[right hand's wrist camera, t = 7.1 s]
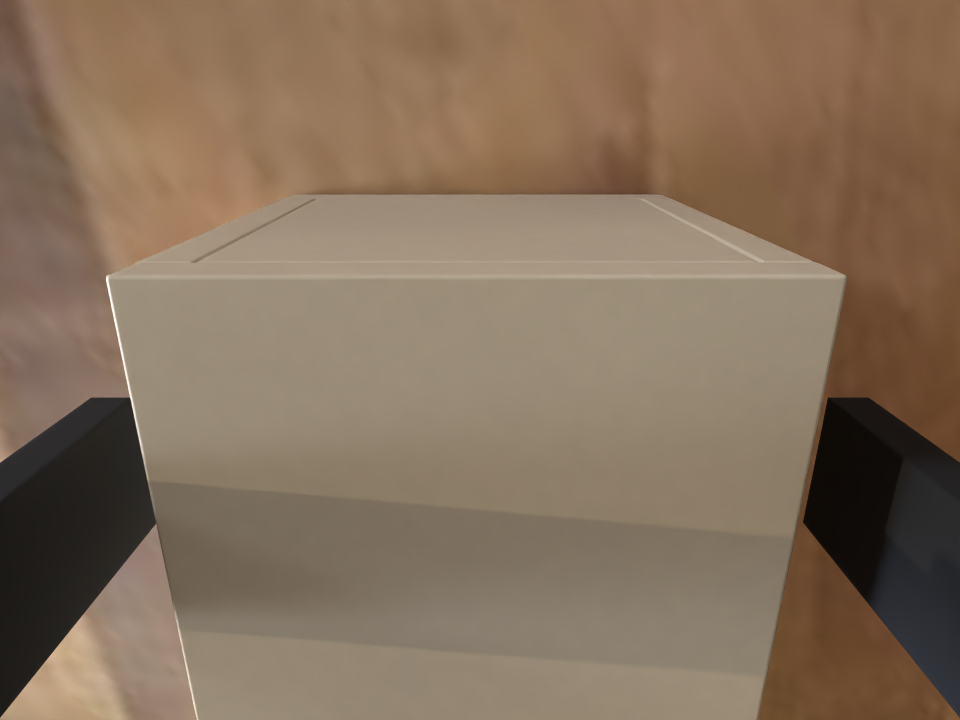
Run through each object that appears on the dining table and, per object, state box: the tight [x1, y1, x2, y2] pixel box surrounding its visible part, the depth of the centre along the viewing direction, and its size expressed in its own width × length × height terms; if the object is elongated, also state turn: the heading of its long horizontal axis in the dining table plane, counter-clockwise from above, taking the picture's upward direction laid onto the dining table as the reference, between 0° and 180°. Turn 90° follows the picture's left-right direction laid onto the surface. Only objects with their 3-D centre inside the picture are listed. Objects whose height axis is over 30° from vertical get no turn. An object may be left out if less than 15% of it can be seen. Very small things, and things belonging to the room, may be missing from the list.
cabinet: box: [106, 195, 847, 720], centre depth 17 cm, size 21×10×9 cm, turn 0°
